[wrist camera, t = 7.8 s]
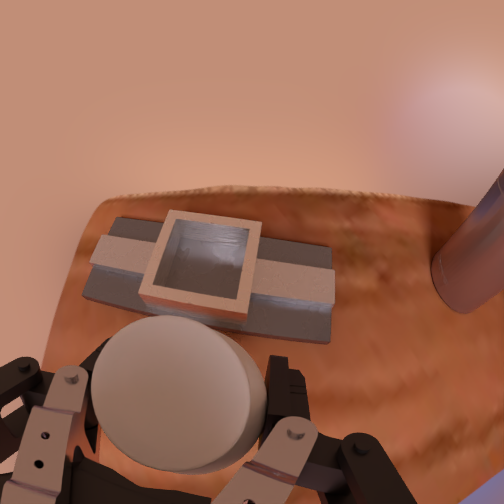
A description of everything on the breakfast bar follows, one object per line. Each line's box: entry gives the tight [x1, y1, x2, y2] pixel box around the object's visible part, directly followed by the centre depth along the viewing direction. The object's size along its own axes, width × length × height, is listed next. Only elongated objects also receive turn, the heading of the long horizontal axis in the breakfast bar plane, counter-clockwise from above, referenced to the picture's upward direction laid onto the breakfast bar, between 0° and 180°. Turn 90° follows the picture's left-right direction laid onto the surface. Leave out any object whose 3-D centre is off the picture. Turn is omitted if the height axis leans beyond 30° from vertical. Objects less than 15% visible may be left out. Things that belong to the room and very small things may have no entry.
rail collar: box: [82, 210, 335, 345], centre depth 25 cm, size 24×10×4 cm, turn 82°
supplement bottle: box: [91, 315, 267, 475], centre depth 10 cm, size 5×5×10 cm
